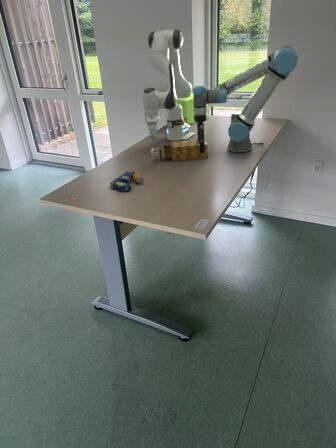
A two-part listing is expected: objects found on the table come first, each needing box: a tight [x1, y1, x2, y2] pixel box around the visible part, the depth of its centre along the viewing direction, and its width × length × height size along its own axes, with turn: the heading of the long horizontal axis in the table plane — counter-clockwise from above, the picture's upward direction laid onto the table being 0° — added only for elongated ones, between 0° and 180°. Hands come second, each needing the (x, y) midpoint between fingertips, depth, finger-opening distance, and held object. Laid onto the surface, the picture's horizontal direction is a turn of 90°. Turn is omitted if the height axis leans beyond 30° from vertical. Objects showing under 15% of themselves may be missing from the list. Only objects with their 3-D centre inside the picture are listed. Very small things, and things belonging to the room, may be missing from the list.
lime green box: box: [177, 92, 209, 126], centre depth 283 cm, size 25×21×23 cm
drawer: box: [150, 144, 172, 161], centre depth 210 cm, size 26×10×7 cm, turn 91°
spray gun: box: [109, 170, 144, 192], centre depth 182 cm, size 21×4×15 cm
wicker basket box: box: [170, 138, 208, 162], centre depth 210 cm, size 22×11×9 cm, turn 91°
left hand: (154, 140), depth 206 cm, fingers closed
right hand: (201, 149), depth 210 cm, fingers closed on wicker basket box, 11 cm apart
